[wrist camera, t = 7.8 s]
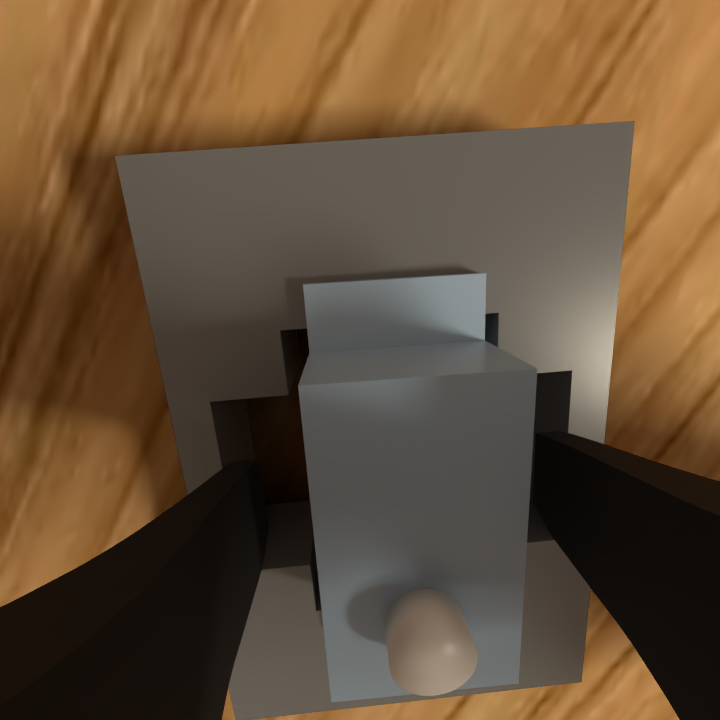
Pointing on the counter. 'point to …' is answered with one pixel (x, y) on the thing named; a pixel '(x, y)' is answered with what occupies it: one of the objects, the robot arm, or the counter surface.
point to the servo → (416, 485)
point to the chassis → (378, 261)
